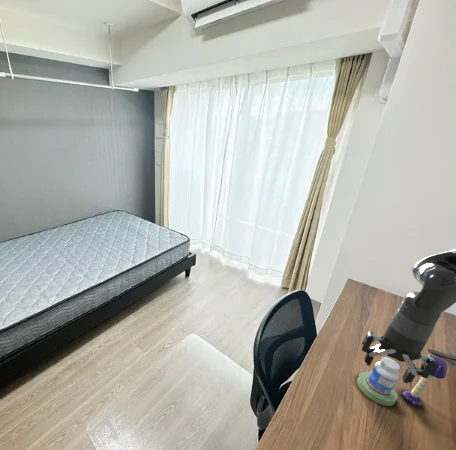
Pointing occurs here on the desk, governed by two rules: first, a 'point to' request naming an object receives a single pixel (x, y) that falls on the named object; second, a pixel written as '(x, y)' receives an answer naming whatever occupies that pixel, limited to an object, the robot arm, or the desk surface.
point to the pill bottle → (384, 375)
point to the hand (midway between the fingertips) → (385, 371)
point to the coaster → (375, 395)
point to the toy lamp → (425, 383)
